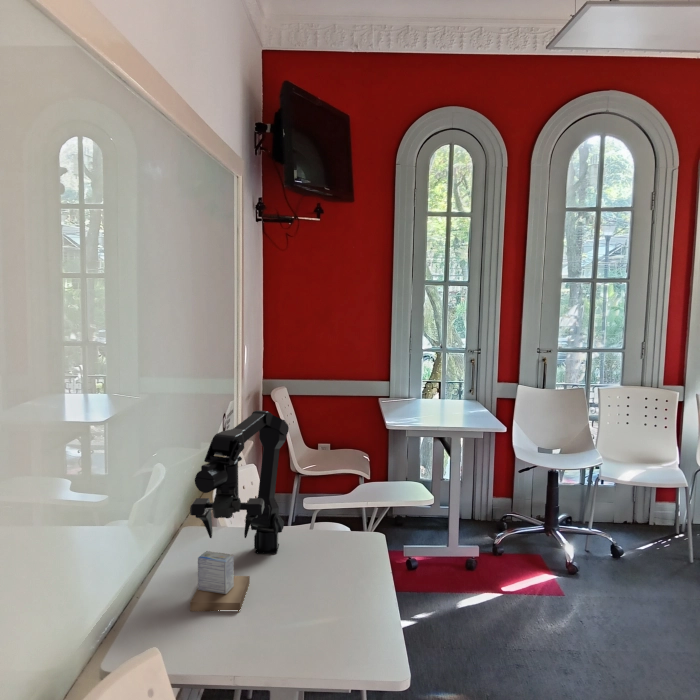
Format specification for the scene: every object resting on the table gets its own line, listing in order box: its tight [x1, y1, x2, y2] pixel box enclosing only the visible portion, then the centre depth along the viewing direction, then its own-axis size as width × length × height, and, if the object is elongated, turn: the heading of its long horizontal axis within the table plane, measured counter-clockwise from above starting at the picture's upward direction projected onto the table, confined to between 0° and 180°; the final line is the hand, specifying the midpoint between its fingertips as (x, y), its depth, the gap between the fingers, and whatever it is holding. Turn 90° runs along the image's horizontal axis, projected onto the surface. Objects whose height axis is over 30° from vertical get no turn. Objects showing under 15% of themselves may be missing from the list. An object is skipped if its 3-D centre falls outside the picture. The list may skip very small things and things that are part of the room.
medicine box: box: [197, 550, 235, 594], centre depth 151 cm, size 8×4×9 cm, turn 74°
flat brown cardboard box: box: [189, 575, 251, 612], centre depth 152 cm, size 12×14×3 cm
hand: (228, 537), depth 161 cm, fingers open, 9 cm apart
